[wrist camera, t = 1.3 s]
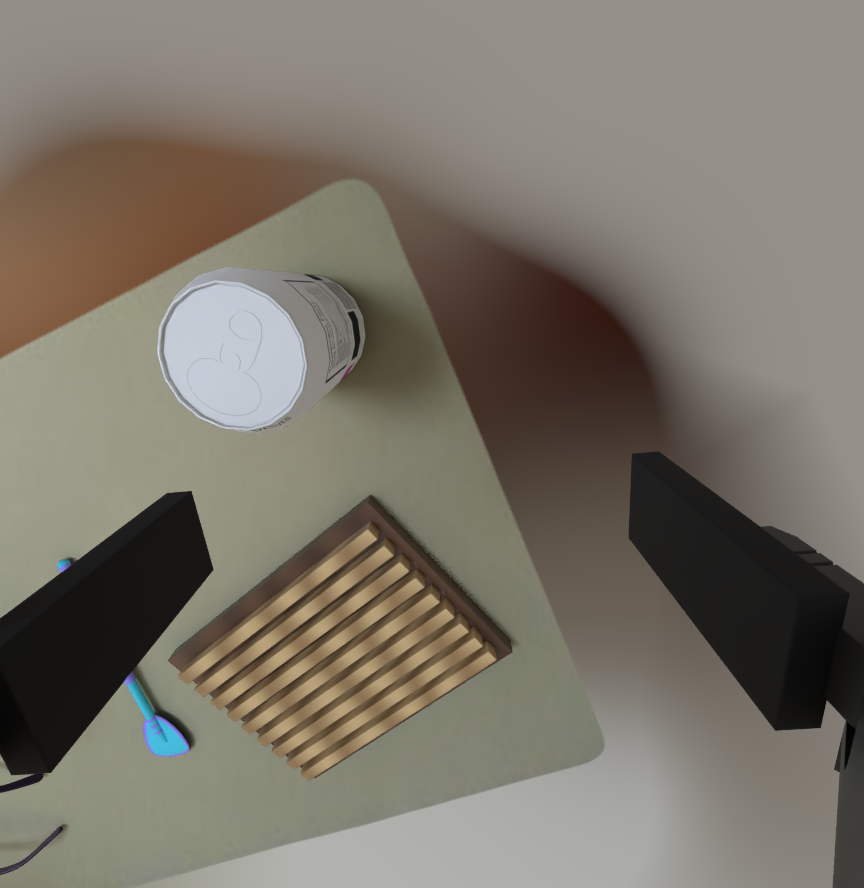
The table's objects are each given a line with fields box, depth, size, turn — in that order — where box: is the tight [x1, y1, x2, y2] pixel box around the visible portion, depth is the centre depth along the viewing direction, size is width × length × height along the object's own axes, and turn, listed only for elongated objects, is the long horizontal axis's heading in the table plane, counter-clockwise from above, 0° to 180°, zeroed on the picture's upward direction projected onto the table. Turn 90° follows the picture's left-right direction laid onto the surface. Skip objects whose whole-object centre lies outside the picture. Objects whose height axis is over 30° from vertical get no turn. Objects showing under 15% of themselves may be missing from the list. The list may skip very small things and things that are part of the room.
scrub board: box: [168, 495, 512, 781], centre depth 44 cm, size 26×20×3 cm
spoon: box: [57, 559, 189, 756], centre depth 46 cm, size 25×4×1 cm, turn 18°
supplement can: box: [157, 267, 366, 433], centre depth 29 cm, size 8×8×15 cm
